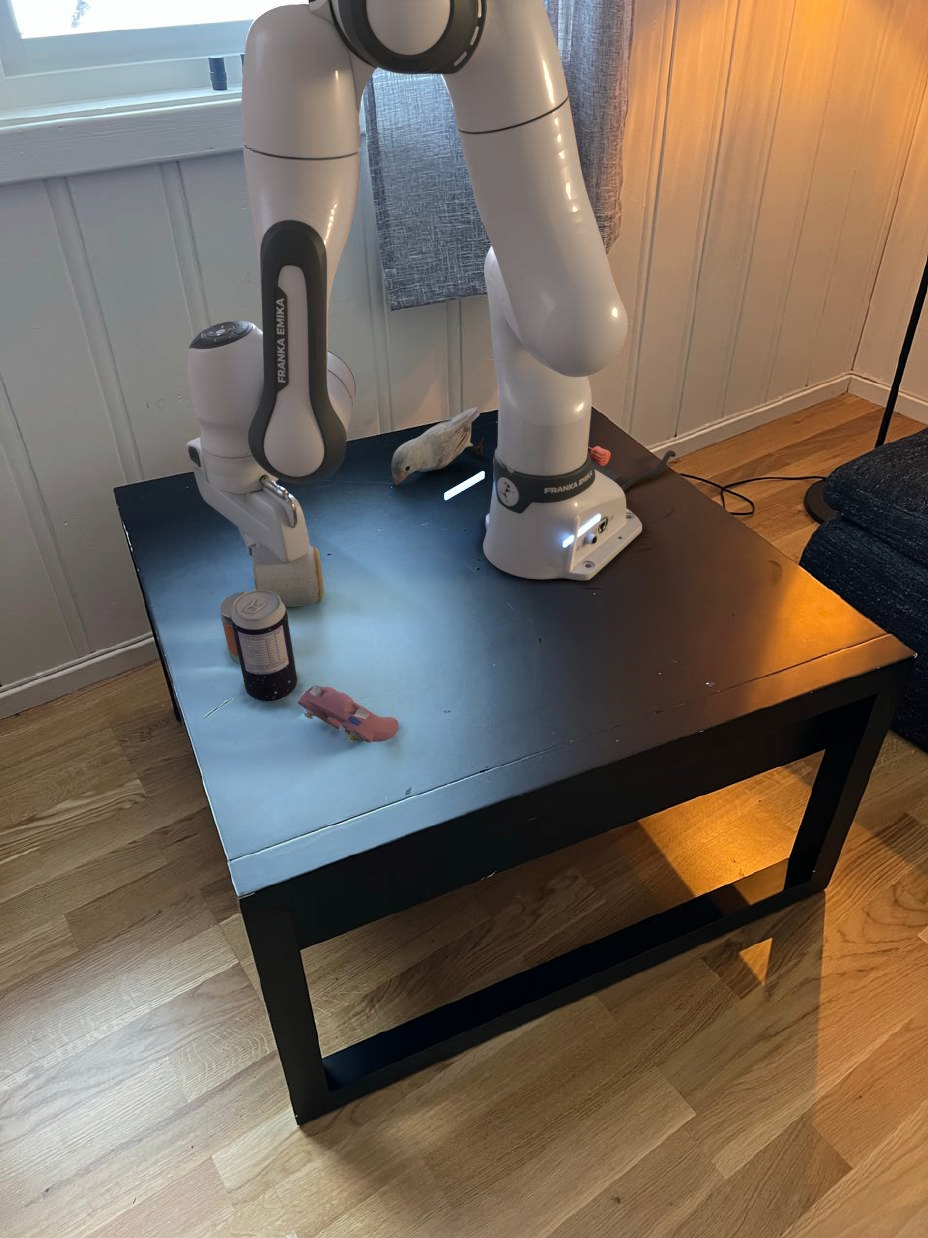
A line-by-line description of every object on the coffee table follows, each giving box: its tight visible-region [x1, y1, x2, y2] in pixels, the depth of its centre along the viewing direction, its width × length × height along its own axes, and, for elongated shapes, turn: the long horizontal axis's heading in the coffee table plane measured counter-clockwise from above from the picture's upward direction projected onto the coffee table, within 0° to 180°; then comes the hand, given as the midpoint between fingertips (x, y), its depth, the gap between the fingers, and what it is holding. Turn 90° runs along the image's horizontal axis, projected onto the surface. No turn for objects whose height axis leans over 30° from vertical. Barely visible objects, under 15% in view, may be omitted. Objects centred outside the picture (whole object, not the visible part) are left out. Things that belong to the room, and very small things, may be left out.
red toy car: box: [297, 685, 400, 744], centre depth 96 cm, size 10×5×7 cm, turn 56°
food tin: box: [219, 592, 245, 666], centre depth 105 cm, size 5×5×7 cm
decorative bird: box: [390, 406, 484, 486], centre depth 138 cm, size 5×16×8 cm, turn 130°
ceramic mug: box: [251, 545, 325, 608], centre depth 114 cm, size 11×8×8 cm
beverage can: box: [231, 589, 298, 704], centre depth 99 cm, size 6×6×12 cm
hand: (260, 557), depth 118 cm, fingers closed
